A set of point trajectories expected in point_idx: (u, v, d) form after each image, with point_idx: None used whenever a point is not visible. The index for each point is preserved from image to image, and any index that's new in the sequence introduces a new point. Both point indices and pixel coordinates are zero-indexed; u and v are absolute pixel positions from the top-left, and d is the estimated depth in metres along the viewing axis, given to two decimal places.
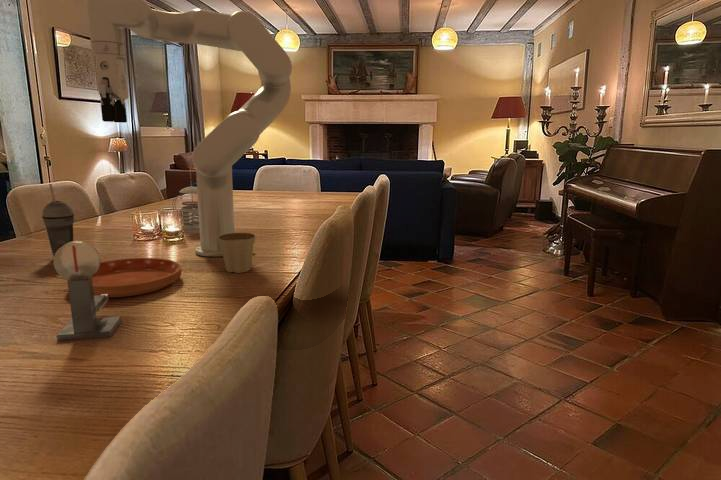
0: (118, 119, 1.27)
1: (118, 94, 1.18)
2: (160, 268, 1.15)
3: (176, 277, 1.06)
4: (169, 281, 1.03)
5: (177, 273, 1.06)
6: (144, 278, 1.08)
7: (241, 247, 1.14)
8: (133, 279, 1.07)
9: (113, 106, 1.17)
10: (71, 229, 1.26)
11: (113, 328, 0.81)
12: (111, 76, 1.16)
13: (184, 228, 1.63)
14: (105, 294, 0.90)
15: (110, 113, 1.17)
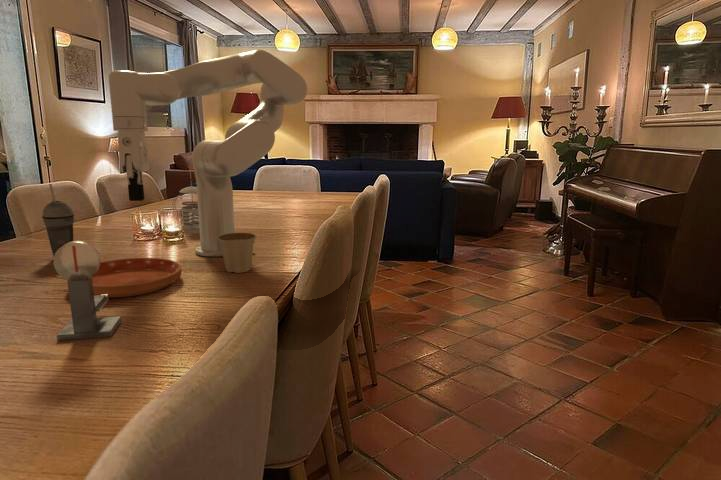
0: None
1: (141, 170, 1.13)
2: (160, 268, 1.15)
3: (176, 277, 1.06)
4: (169, 281, 1.03)
5: (177, 273, 1.06)
6: (144, 278, 1.08)
7: (241, 247, 1.14)
8: (133, 279, 1.07)
9: (140, 186, 1.17)
10: (71, 229, 1.26)
11: (113, 328, 0.81)
12: (134, 152, 1.12)
13: (184, 228, 1.63)
14: (105, 294, 0.90)
15: (137, 193, 1.17)
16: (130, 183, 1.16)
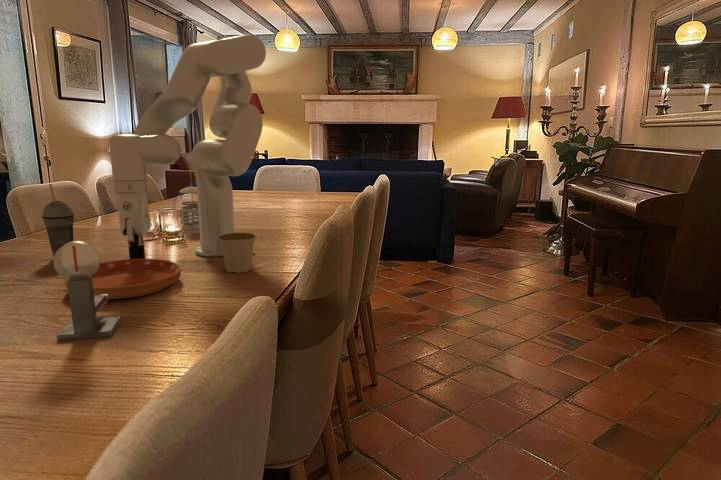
0: None
1: (141, 233, 1.12)
2: (159, 269, 1.14)
3: (175, 278, 1.04)
4: (168, 282, 1.01)
5: (176, 274, 1.04)
6: (143, 279, 1.07)
7: (241, 247, 1.14)
8: (132, 280, 1.05)
9: (141, 247, 1.16)
10: (71, 229, 1.26)
11: (113, 328, 0.81)
12: (134, 216, 1.10)
13: (184, 228, 1.63)
14: (105, 294, 0.90)
15: (138, 255, 1.16)
16: (131, 245, 1.14)
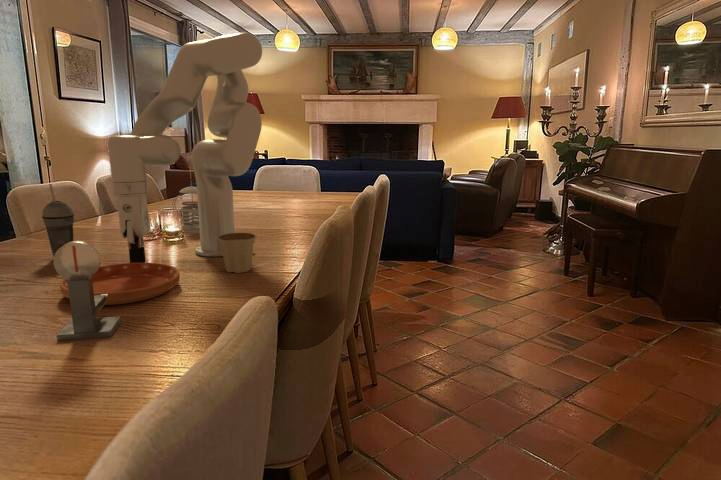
0: None
1: (142, 235, 1.11)
2: (158, 273, 1.11)
3: (174, 283, 1.01)
4: (166, 288, 0.99)
5: (175, 279, 1.02)
6: (141, 284, 1.04)
7: (241, 247, 1.14)
8: (129, 285, 1.02)
9: (141, 249, 1.15)
10: (71, 229, 1.26)
11: (113, 328, 0.81)
12: (134, 218, 1.09)
13: (184, 228, 1.63)
14: (105, 294, 0.90)
15: (138, 257, 1.15)
16: (131, 247, 1.13)
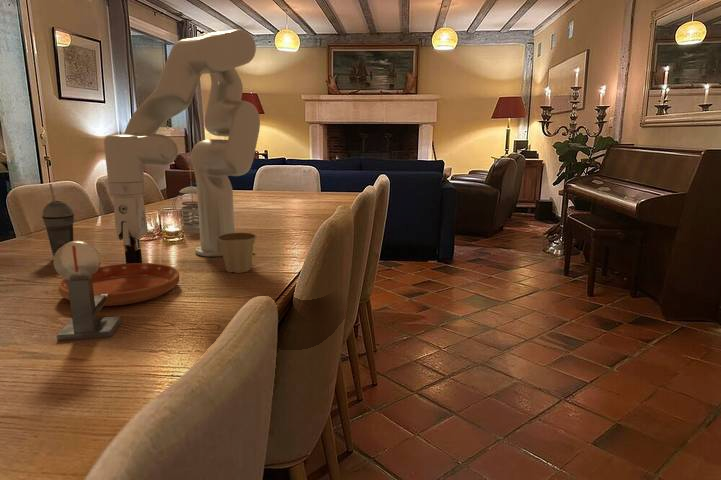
0: None
1: (138, 237, 1.08)
2: (157, 273, 1.10)
3: (174, 284, 1.00)
4: (166, 288, 0.98)
5: (175, 280, 1.01)
6: (140, 285, 1.03)
7: (241, 247, 1.14)
8: (128, 286, 1.02)
9: (137, 251, 1.12)
10: (71, 229, 1.26)
11: (113, 328, 0.81)
12: (130, 220, 1.06)
13: (184, 228, 1.63)
14: (105, 294, 0.90)
15: (134, 259, 1.12)
16: (127, 249, 1.11)
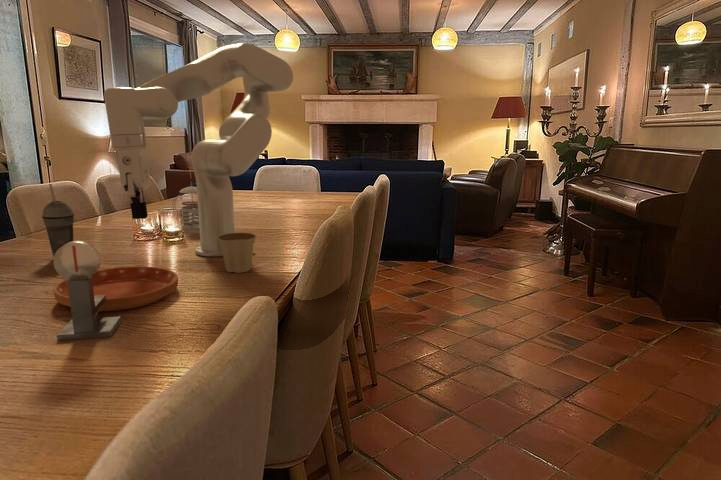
0: None
1: (143, 188, 1.11)
2: (155, 277, 1.08)
3: (172, 288, 0.98)
4: (165, 293, 0.95)
5: (173, 284, 0.98)
6: (138, 289, 1.00)
7: (241, 247, 1.14)
8: (126, 290, 0.99)
9: (143, 203, 1.15)
10: (71, 229, 1.26)
11: (113, 328, 0.81)
12: (135, 171, 1.09)
13: (184, 228, 1.63)
14: None
15: (140, 211, 1.15)
16: (132, 201, 1.14)
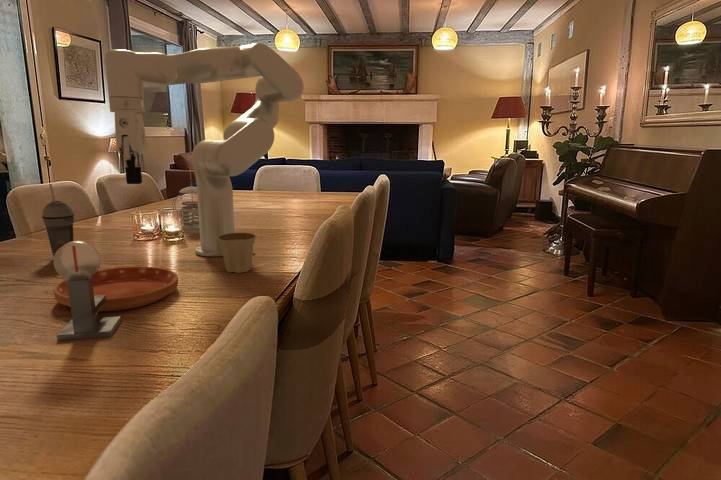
0: None
1: (138, 152, 1.11)
2: (155, 277, 1.08)
3: (172, 288, 0.98)
4: (165, 293, 0.95)
5: (173, 284, 0.98)
6: (138, 289, 1.00)
7: (241, 247, 1.14)
8: (126, 290, 0.99)
9: (137, 168, 1.15)
10: (71, 229, 1.26)
11: (113, 328, 0.81)
12: (131, 133, 1.09)
13: (184, 228, 1.63)
14: None
15: (135, 176, 1.15)
16: (127, 166, 1.14)
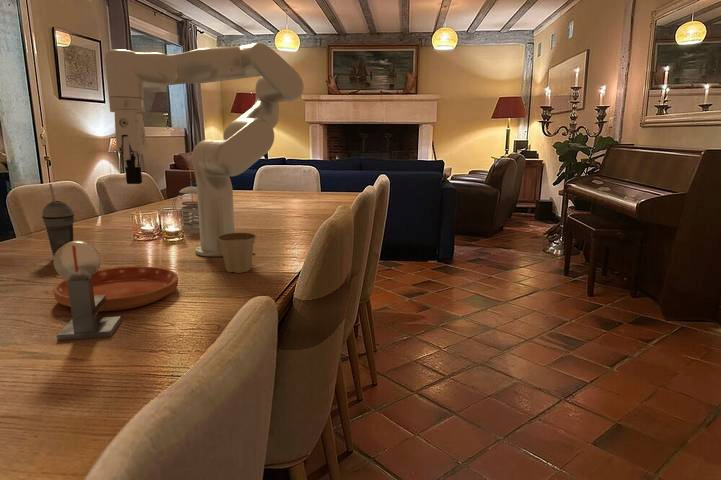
0: None
1: (138, 152, 1.11)
2: (155, 277, 1.08)
3: (172, 288, 0.98)
4: (164, 293, 0.95)
5: (173, 284, 0.98)
6: (138, 289, 1.00)
7: (241, 247, 1.14)
8: (126, 290, 0.99)
9: (137, 168, 1.15)
10: (71, 229, 1.26)
11: (113, 328, 0.81)
12: (131, 133, 1.09)
13: (184, 228, 1.63)
14: None
15: (135, 176, 1.15)
16: (127, 166, 1.14)
